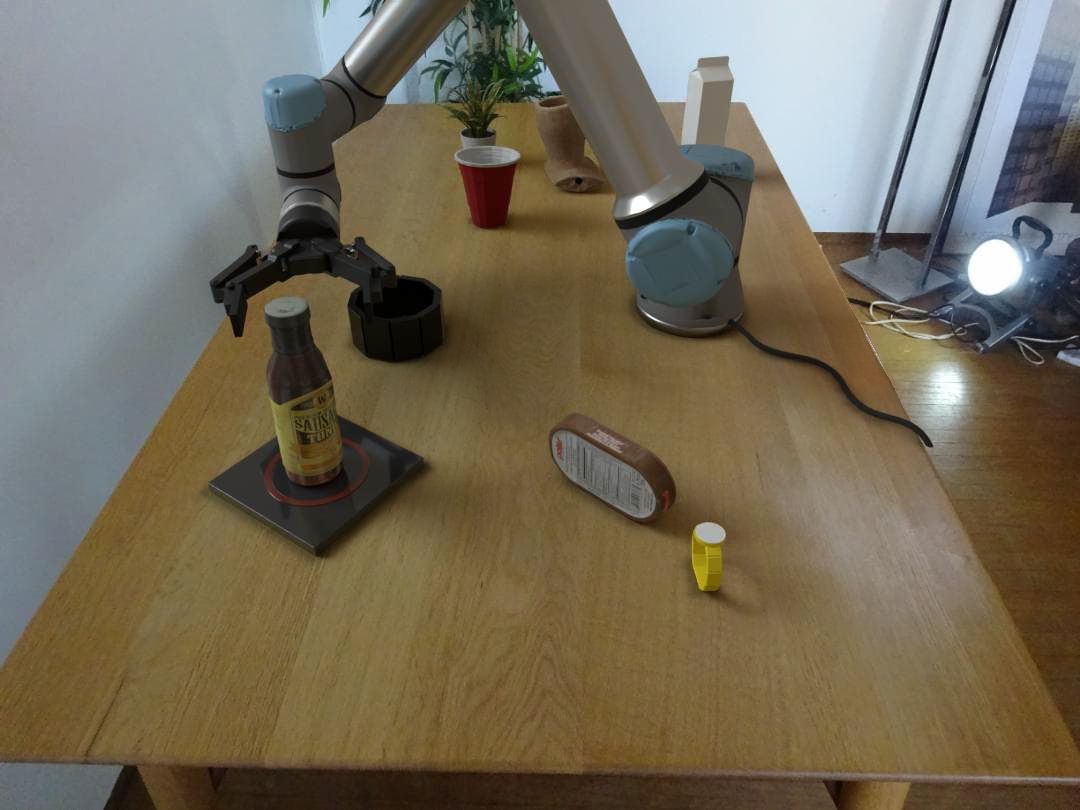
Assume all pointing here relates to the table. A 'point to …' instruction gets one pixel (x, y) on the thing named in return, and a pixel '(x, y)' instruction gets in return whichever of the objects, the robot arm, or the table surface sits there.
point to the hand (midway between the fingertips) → (303, 320)
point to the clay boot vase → (565, 147)
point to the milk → (708, 102)
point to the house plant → (476, 115)
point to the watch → (708, 555)
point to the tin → (612, 467)
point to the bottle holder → (399, 321)
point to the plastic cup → (488, 182)
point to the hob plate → (318, 487)
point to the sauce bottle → (301, 396)
